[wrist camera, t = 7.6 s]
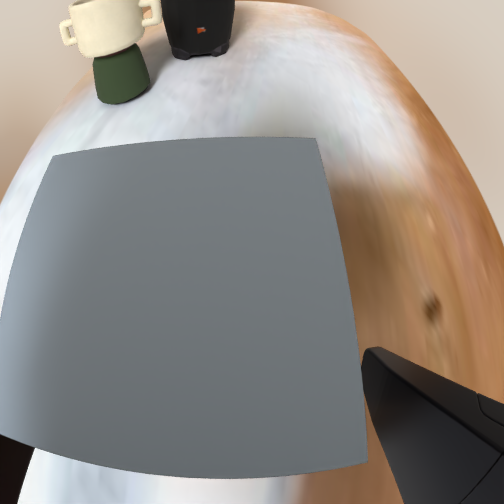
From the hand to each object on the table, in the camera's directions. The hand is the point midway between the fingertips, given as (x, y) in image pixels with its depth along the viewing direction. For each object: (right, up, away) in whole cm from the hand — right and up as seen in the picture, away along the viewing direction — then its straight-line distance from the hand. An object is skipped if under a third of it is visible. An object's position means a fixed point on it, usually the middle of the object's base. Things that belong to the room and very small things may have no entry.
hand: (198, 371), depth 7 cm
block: (0, -3, +7) cm, 7 cm away
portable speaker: (-6, +30, +27) cm, 41 cm away
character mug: (-13, +21, +22) cm, 33 cm away
